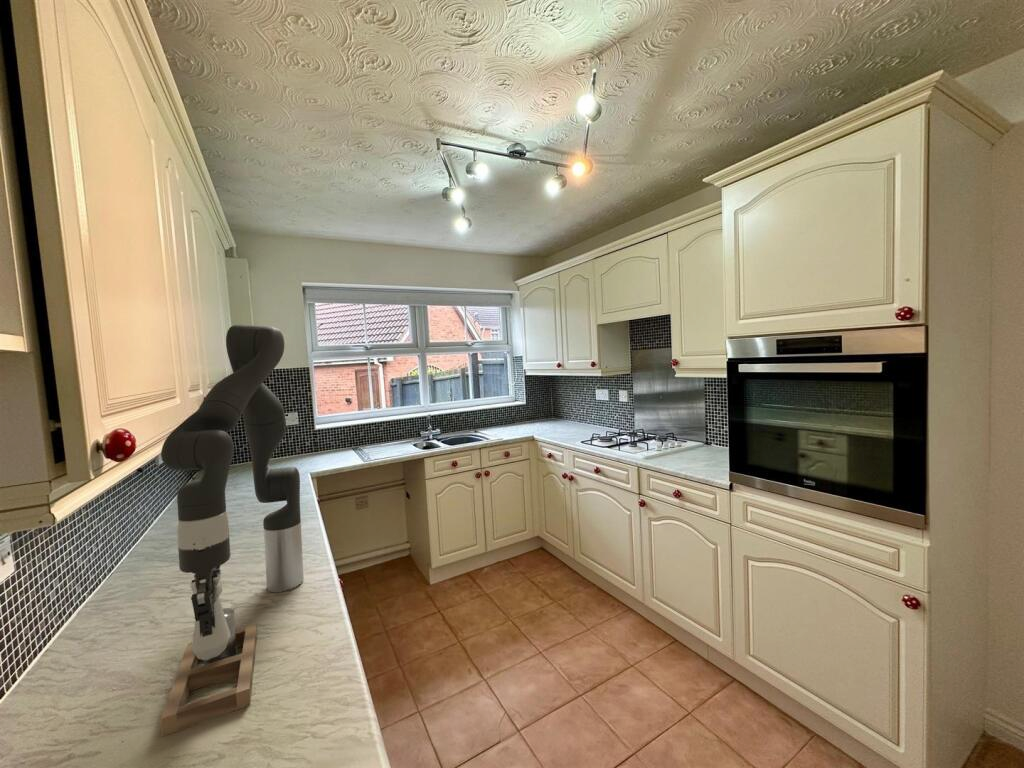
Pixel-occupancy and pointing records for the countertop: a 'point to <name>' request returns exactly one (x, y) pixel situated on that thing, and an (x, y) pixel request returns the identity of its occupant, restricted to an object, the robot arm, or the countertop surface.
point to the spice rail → (196, 677)
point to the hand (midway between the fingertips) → (209, 630)
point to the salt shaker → (219, 637)
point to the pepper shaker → (231, 644)
